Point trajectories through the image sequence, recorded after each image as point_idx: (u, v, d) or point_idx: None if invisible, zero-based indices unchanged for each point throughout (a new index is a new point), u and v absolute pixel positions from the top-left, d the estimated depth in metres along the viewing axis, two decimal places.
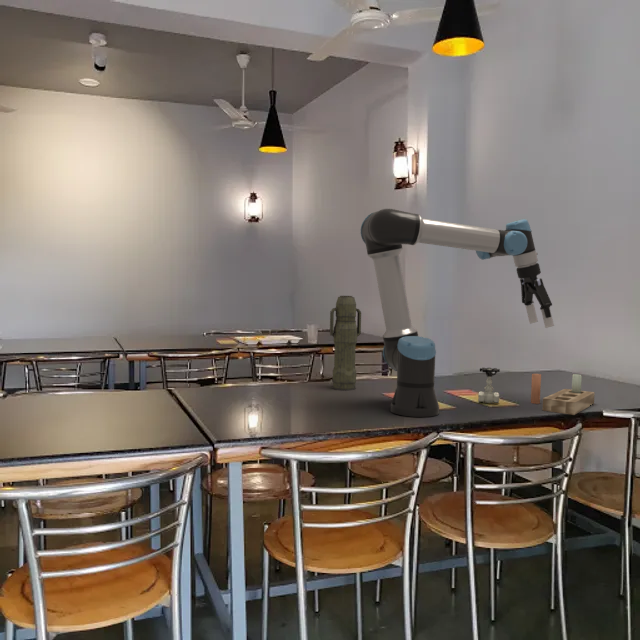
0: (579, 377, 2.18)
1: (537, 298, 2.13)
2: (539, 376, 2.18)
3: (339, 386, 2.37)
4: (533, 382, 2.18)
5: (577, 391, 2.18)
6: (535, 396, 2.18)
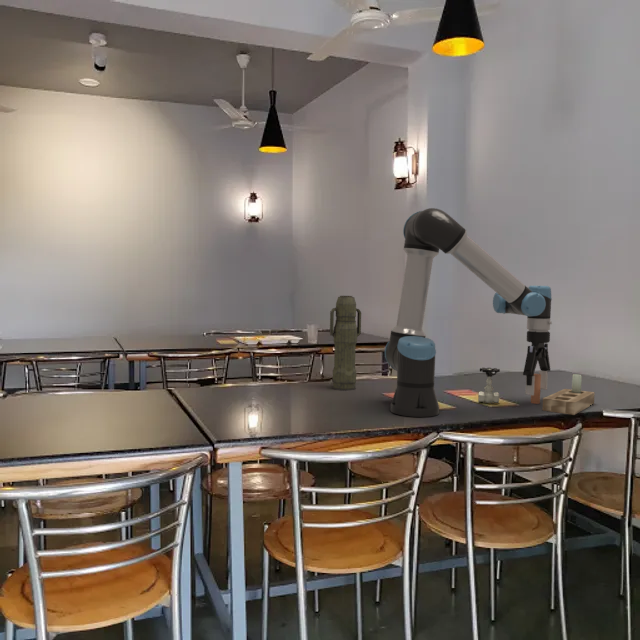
0: (579, 377, 2.18)
1: None
2: (539, 376, 2.18)
3: (339, 386, 2.37)
4: None
5: (577, 391, 2.18)
6: (535, 396, 2.18)
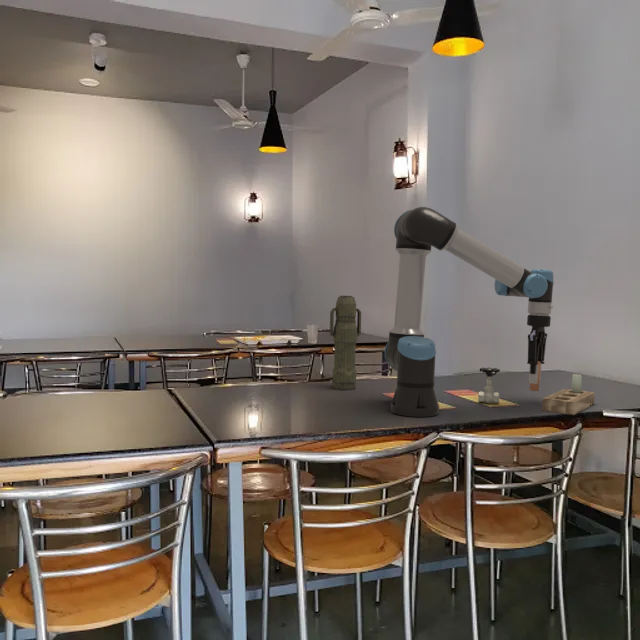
0: (579, 377, 2.18)
1: None
2: (538, 363, 2.17)
3: (339, 386, 2.37)
4: None
5: (577, 391, 2.18)
6: None
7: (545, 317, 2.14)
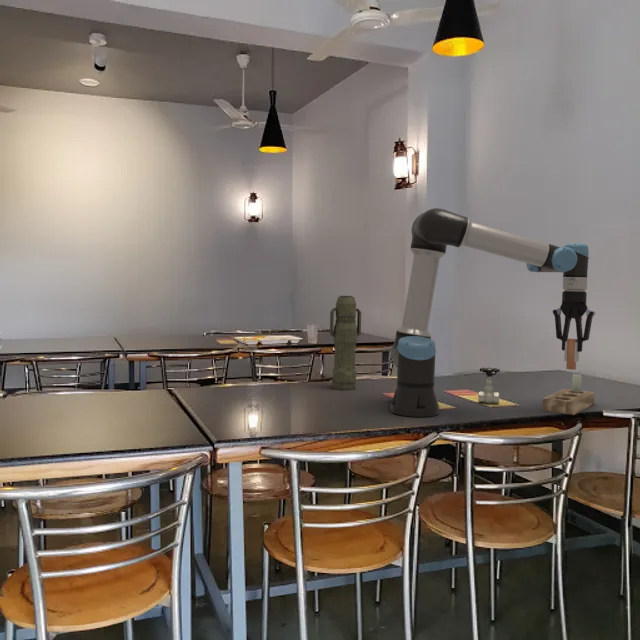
0: (579, 377, 2.18)
1: None
2: (568, 340, 2.12)
3: (339, 386, 2.37)
4: None
5: (577, 391, 2.18)
6: None
7: (564, 292, 2.10)
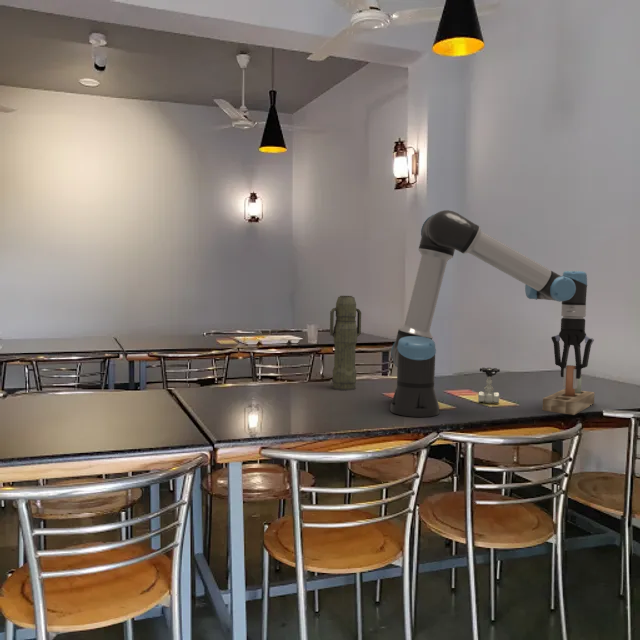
0: None
1: None
2: (567, 367, 2.12)
3: (339, 386, 2.37)
4: None
5: (577, 391, 2.18)
6: None
7: (563, 319, 2.11)
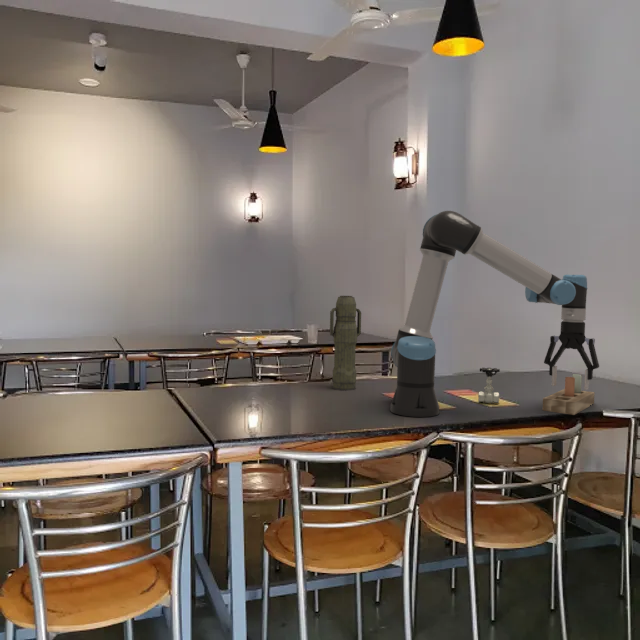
0: (579, 377, 2.18)
1: None
2: (566, 379, 2.13)
3: (339, 386, 2.37)
4: None
5: (577, 391, 2.18)
6: None
7: (563, 323, 2.11)
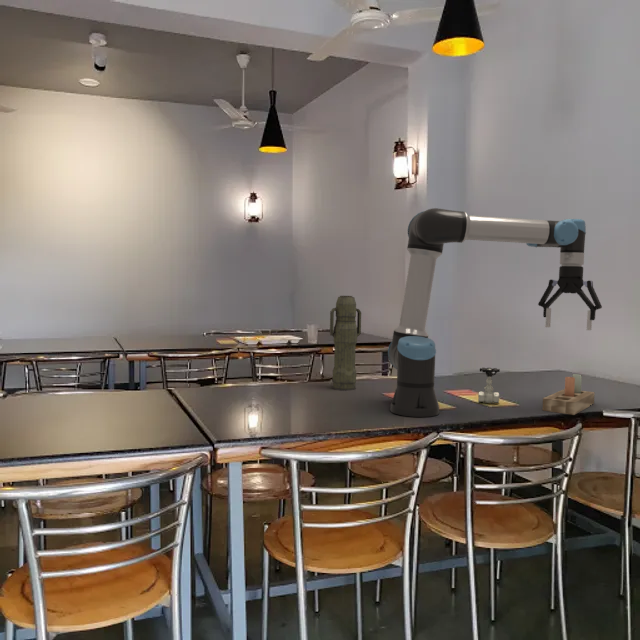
0: (579, 377, 2.18)
1: None
2: (566, 379, 2.13)
3: (339, 386, 2.37)
4: None
5: (577, 391, 2.18)
6: None
7: (561, 267, 2.13)
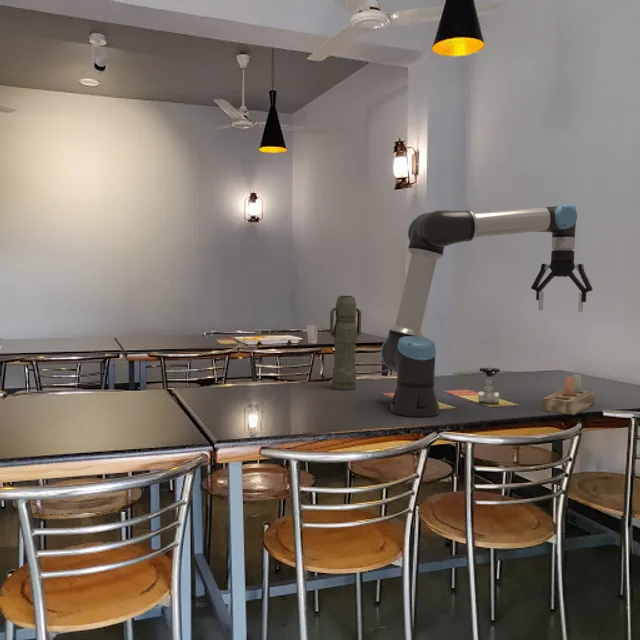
0: (579, 377, 2.18)
1: None
2: (566, 379, 2.13)
3: (339, 386, 2.37)
4: None
5: (577, 391, 2.18)
6: None
7: (553, 251, 2.21)
